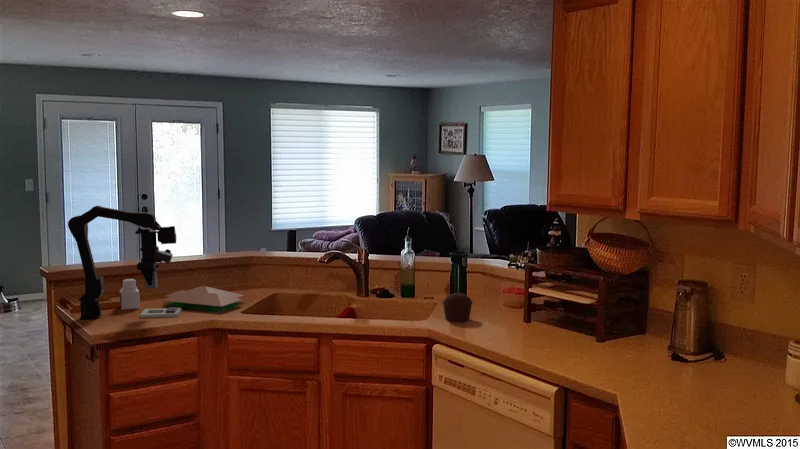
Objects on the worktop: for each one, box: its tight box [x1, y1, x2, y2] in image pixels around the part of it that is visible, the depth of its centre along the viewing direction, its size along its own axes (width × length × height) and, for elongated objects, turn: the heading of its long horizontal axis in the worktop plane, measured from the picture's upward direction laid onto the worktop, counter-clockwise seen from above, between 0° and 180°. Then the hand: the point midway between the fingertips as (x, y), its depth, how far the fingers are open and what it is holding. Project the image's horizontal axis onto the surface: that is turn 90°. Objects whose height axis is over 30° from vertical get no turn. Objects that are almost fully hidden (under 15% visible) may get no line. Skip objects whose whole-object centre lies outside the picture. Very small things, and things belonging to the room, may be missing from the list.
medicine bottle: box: [119, 277, 141, 311], centre depth 299 cm, size 7×7×12 cm
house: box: [160, 285, 246, 314], centre depth 305 cm, size 23×33×8 cm
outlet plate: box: [139, 306, 183, 319], centre depth 287 cm, size 14×11×2 cm
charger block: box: [143, 270, 158, 290], centre depth 285 cm, size 4×4×6 cm
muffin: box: [442, 292, 474, 323], centre depth 278 cm, size 12×11×10 cm
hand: (151, 284), depth 285 cm, fingers closed on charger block, 4 cm apart
